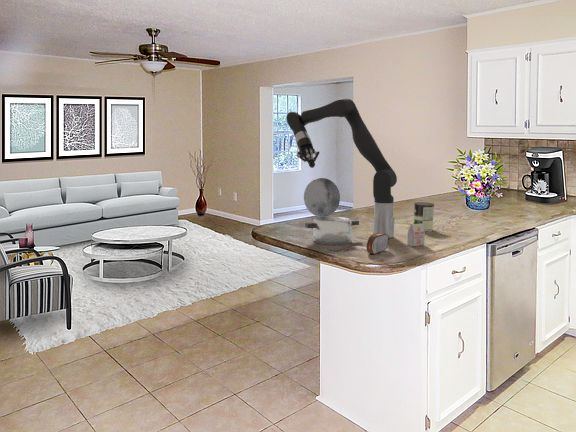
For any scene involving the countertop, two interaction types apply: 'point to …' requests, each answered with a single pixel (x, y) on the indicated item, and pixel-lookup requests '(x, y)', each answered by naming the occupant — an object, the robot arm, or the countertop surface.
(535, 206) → the countertop surface
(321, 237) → the cooker pot
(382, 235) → the tin
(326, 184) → the cooker lid
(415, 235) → the milk carton
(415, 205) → the coffee can
